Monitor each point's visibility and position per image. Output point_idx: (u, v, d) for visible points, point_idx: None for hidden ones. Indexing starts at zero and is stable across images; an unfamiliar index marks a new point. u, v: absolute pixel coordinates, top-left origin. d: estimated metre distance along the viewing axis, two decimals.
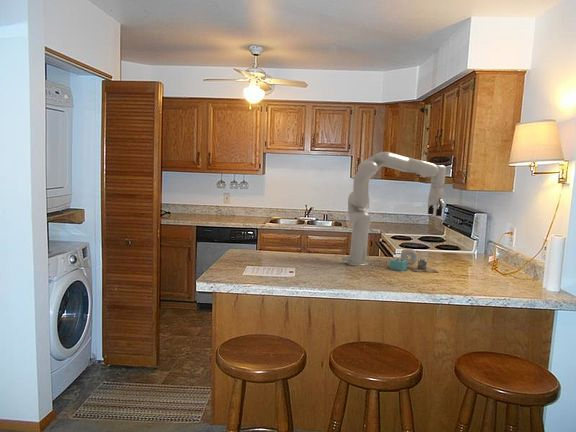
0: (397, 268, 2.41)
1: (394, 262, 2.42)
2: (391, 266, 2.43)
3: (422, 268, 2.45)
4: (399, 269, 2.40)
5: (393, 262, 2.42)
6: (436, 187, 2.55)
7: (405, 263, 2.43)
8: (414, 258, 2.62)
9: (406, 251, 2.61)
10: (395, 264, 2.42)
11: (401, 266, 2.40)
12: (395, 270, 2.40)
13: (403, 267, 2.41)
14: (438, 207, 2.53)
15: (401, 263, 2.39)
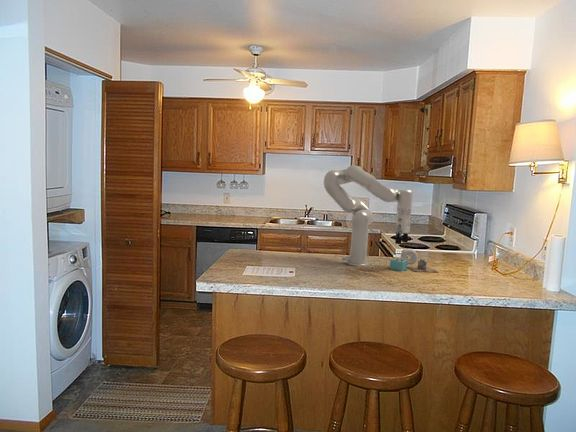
0: (397, 268, 2.41)
1: (394, 262, 2.42)
2: (391, 266, 2.43)
3: (422, 268, 2.45)
4: (399, 269, 2.40)
5: (393, 262, 2.42)
6: None
7: (405, 263, 2.43)
8: (414, 258, 2.62)
9: (406, 251, 2.61)
10: (395, 264, 2.42)
11: (401, 266, 2.40)
12: (395, 270, 2.40)
13: (403, 267, 2.41)
14: None
15: (401, 263, 2.39)
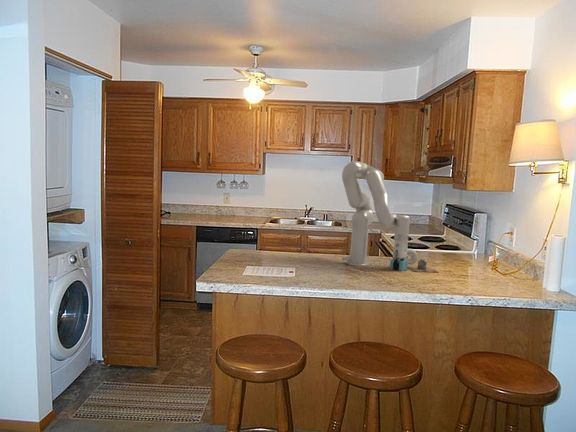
0: None
1: None
2: (391, 266, 2.43)
3: (422, 268, 2.45)
4: (399, 269, 2.40)
5: None
6: None
7: (405, 263, 2.43)
8: (414, 258, 2.62)
9: None
10: None
11: (401, 266, 2.40)
12: (395, 270, 2.40)
13: (403, 267, 2.41)
14: (404, 259, 2.47)
15: (401, 263, 2.39)
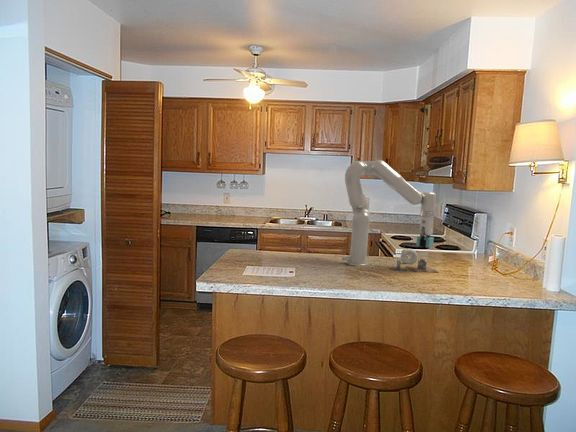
0: None
1: None
2: (418, 243, 2.44)
3: (422, 268, 2.45)
4: (426, 246, 2.41)
5: None
6: None
7: (432, 240, 2.43)
8: (414, 258, 2.62)
9: (406, 251, 2.61)
10: None
11: (428, 243, 2.41)
12: (395, 270, 2.40)
13: (430, 244, 2.42)
14: (430, 236, 2.48)
15: (428, 240, 2.40)
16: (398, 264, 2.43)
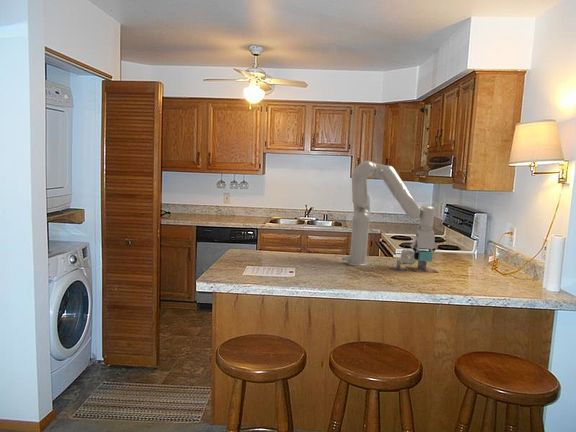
0: None
1: None
2: None
3: (422, 268, 2.45)
4: (418, 259, 2.44)
5: None
6: (432, 230, 2.43)
7: (427, 254, 2.42)
8: None
9: (406, 251, 2.61)
10: None
11: (419, 256, 2.43)
12: (395, 270, 2.40)
13: (422, 257, 2.42)
14: (433, 251, 2.45)
15: (419, 253, 2.42)
16: (398, 264, 2.43)
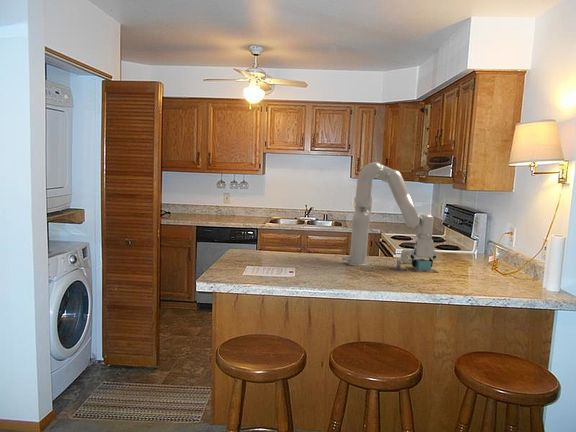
0: (416, 267, 2.45)
1: None
2: None
3: None
4: (417, 268, 2.44)
5: None
6: (431, 238, 2.43)
7: (426, 263, 2.43)
8: None
9: (406, 251, 2.61)
10: None
11: (418, 265, 2.43)
12: (395, 270, 2.40)
13: (421, 267, 2.43)
14: (433, 258, 2.46)
15: (418, 262, 2.43)
16: (398, 264, 2.43)
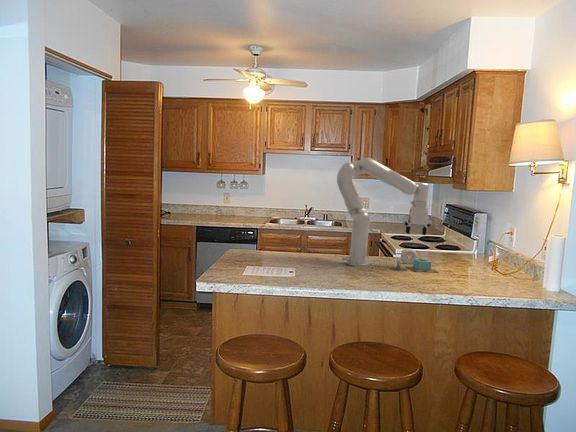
0: (416, 267, 2.45)
1: (415, 261, 2.47)
2: (413, 265, 2.49)
3: None
4: (417, 268, 2.44)
5: (414, 261, 2.47)
6: None
7: (426, 263, 2.43)
8: (414, 258, 2.62)
9: (406, 251, 2.61)
10: (415, 263, 2.46)
11: (418, 265, 2.43)
12: (395, 270, 2.40)
13: (421, 267, 2.43)
14: (427, 226, 2.50)
15: (418, 262, 2.43)
16: (398, 264, 2.43)
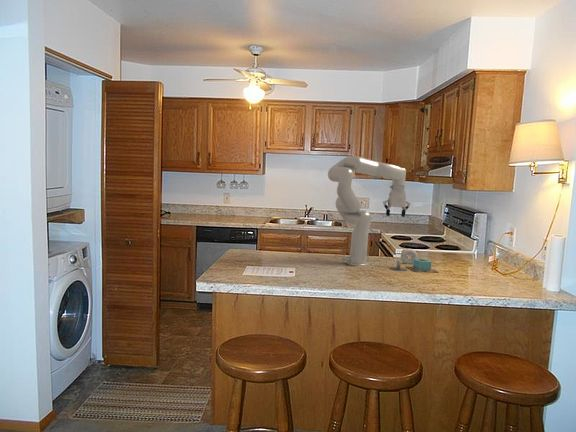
0: (416, 267, 2.45)
1: (415, 261, 2.47)
2: (413, 265, 2.49)
3: None
4: (417, 268, 2.44)
5: (414, 261, 2.47)
6: None
7: (426, 263, 2.43)
8: (414, 258, 2.62)
9: (406, 251, 2.61)
10: (415, 263, 2.46)
11: (418, 265, 2.43)
12: (395, 270, 2.40)
13: (421, 267, 2.43)
14: (406, 208, 2.66)
15: (418, 262, 2.43)
16: (398, 264, 2.43)
